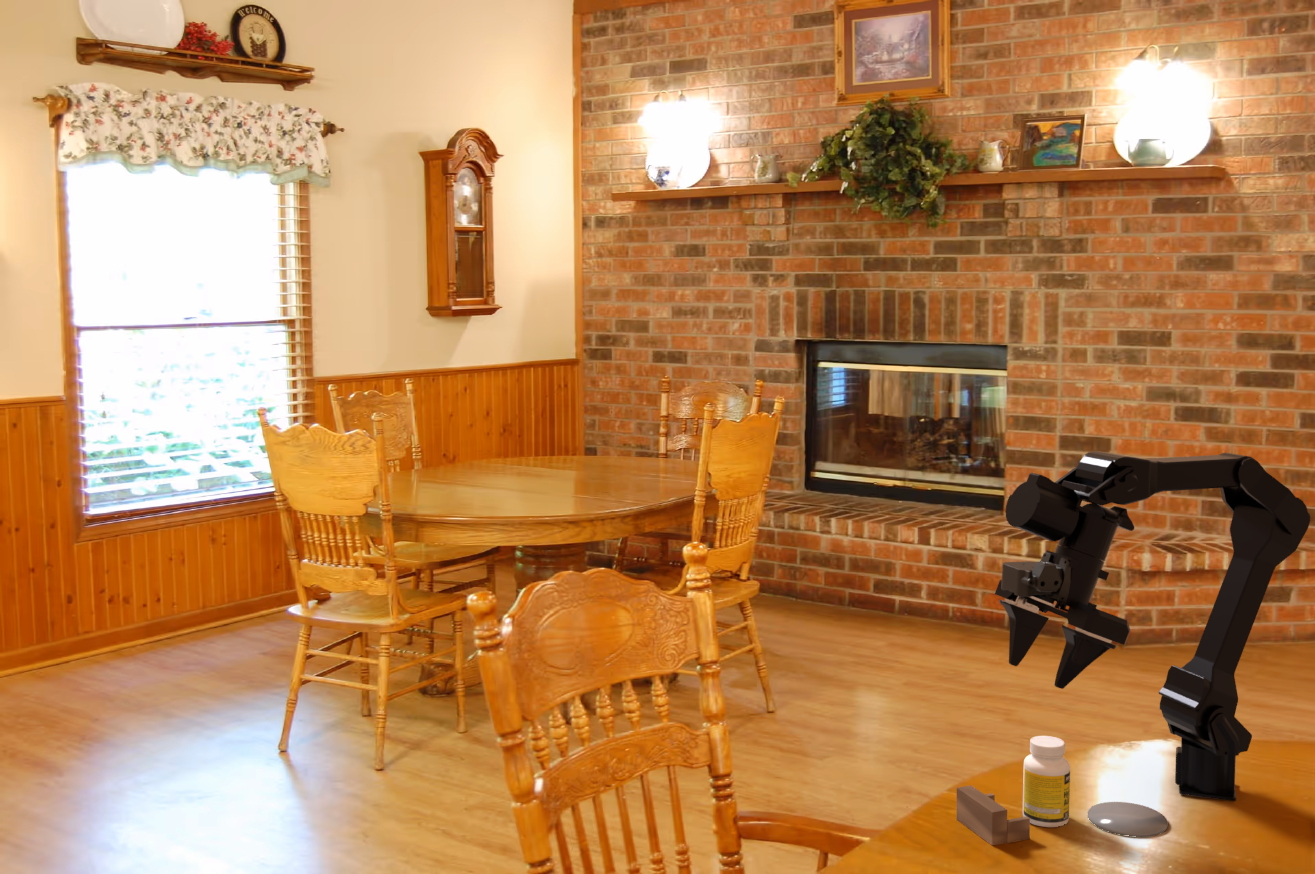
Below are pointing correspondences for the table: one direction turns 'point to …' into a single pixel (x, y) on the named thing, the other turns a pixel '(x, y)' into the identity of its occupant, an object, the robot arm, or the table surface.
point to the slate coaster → (1127, 819)
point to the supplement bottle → (1046, 783)
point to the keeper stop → (989, 817)
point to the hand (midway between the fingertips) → (1034, 676)
